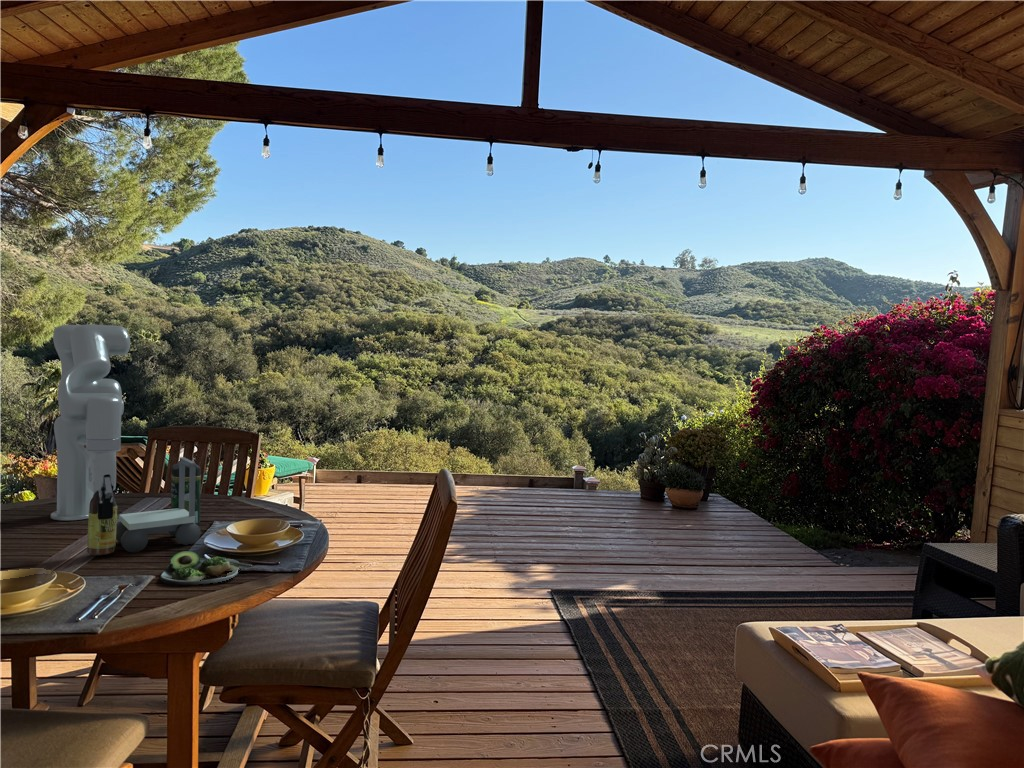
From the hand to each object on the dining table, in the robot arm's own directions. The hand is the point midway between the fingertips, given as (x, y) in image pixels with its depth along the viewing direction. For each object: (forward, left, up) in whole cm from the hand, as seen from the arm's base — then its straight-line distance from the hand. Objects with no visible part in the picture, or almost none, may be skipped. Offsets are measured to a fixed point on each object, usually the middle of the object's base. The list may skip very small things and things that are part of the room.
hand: (102, 515), depth 175 cm
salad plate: (+27, +16, -11) cm, 33 cm away
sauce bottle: (0, 0, -10) cm, 10 cm away
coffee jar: (-23, +26, -11) cm, 36 cm away
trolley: (-5, +14, -10) cm, 18 cm away
